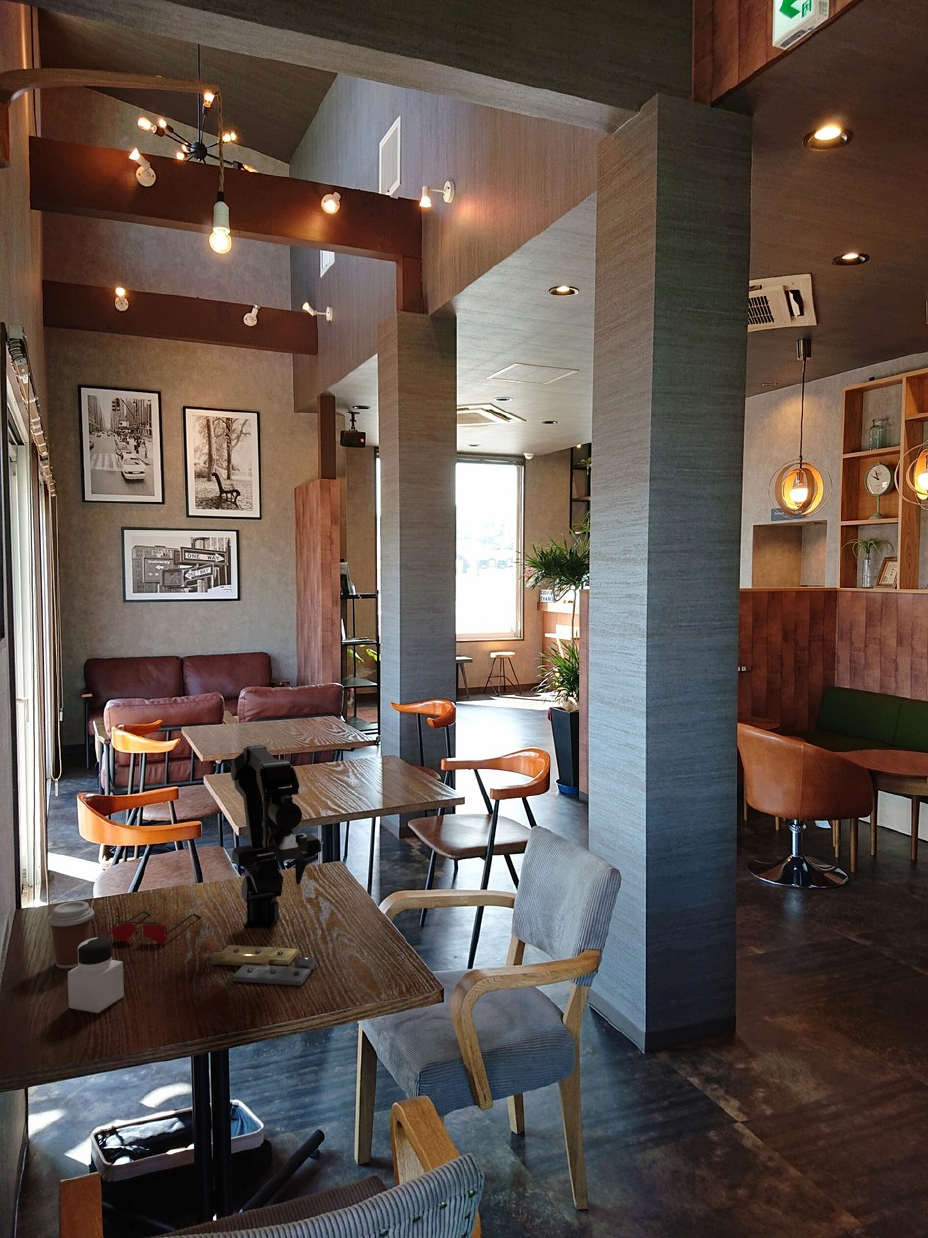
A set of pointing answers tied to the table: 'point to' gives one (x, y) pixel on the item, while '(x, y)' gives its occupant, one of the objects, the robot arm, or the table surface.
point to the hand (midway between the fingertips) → (278, 888)
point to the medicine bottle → (95, 977)
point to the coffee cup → (70, 931)
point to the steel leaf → (276, 973)
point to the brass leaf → (253, 955)
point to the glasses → (144, 929)
